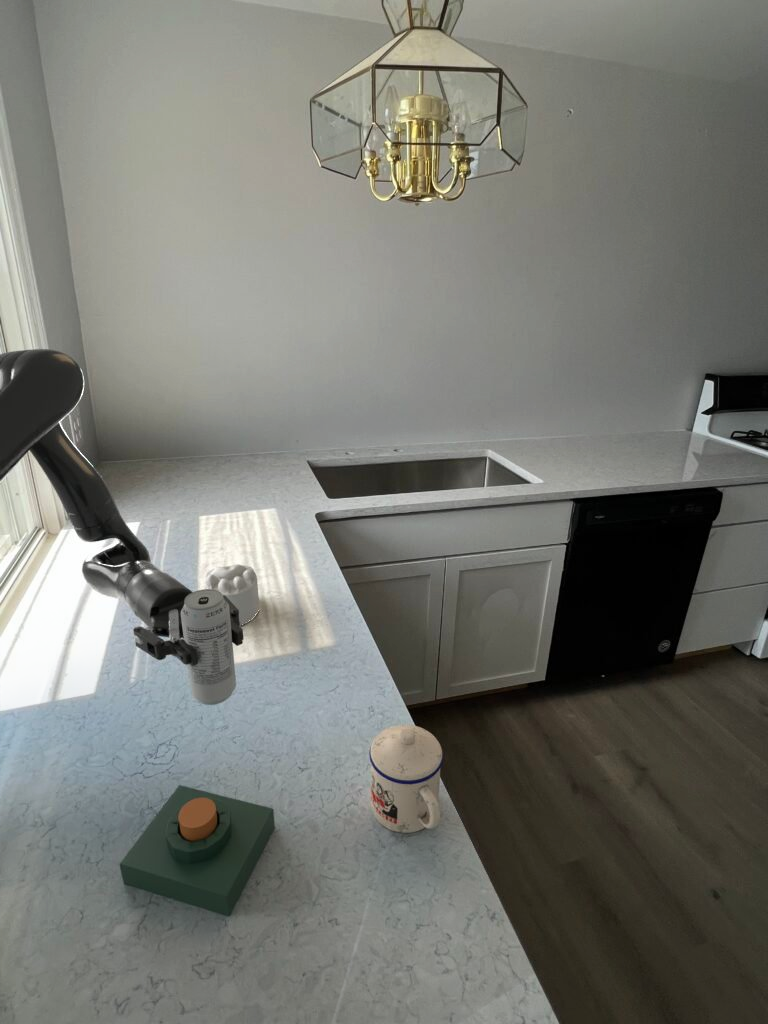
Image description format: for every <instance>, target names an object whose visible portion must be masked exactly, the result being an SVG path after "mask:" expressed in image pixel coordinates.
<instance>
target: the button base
mask: <svg viewBox="0 0 768 1024" xmlns="http://www.w3.org/2000/svg"><path fill="white" fill-rule="evenodd" d="M197 798H208V799H210V800H212V801H213V802H214V803H215V806H216V813H217V826H216V828H215V830H214V832H213V833H212V834H211V835H210V836H208V837H207V838H205V839H203V840H199V841H189V840H186V839H185V838H184V837H183V836H182V834H181V830H180V824H179V813H180V811H181V809H182V808H183V806H184V805H185V804H187V803H188V802H189V801H191V800H193V799H197ZM274 812H275V811H274V808H273V807H268V806H264V805H262V804H261V805H260V804H256V803H252V802H248V801H245V800H241V799H236V798H233V797H229V796H224V795H221V794H217V793H213V792H209V791H204V790H201V789H197V788H193V787H190V786H185V785H181V784H179V785H178V786H177V787H176V788H175V790H174V791H173V793H172V794H171V795H170V796H169V798H168V799H167V800H166V801H165V803H164V804H163V806H162V807H161V808H160V810H159V811H158V813H156V815H155V816H154V818H153V819H152V820H151V821H150V823H149V824H148V825H147V826H146V828H145V829H144V831H143V832H142V833H141V835H140V836H139V837H138V839H137V840H136V841H135V842H134V844H133V845H132V847H131V848H130V849H129V851H128V852H127V853H126V854H125V856H124V857H123V859H121V861H120V862H119V868H120V874H121V877H122V882H123V885H125V886H128V887H132V888H134V889H138V890H142V891H145V892H147V893H151V894H154V895H156V896H157V895H158V896H160V897H164V898H167V899H170V900H173V901H177V902H180V903H183V904H185V905H186V904H187V905H190V906H193V907H197V908H199V909H204V910H207V911H209V912H212V913H216V914H219V915H221V916H225V917H228V918H229V917H230V916H231V914H232V912H233V910H234V908H235V907H236V905H237V902H238V900H239V899H240V897H241V895H242V893H243V891H244V889H245V888H246V885H247V883H248V882H249V879H250V878H251V875H252V874H253V872H254V869H255V868H256V865H257V864H258V862H259V860H260V858H261V856H262V854H263V852H264V850H265V848H266V846H267V844H268V842H269V840H270V839H271V836H272V834H273V833H274V830H275V829H276V826H275V825H276V824H275V823H276V822H275V813H274Z"/></svg>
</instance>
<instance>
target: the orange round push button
mask: <svg viewBox="0 0 768 1024" xmlns="http://www.w3.org/2000/svg"><path fill="white" fill-rule="evenodd" d="M179 824H180V830H181V834H182V836H183V837H184V838H185V839H186V840H189V841H199V840H203V839H205V838H207V837H208V836H210V835H211V834H212V833H213V832H214V830H215V828H216V826H217V813H216V806H215V803H214V802H213V801H212V800H210V799H208V798H197V799H193V800H191V801H189V802H188V803H187V804H185V805H184V806H183V808H182V809H181V811H180V813H179Z"/></svg>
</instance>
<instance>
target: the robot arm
mask: <svg viewBox="0 0 768 1024" xmlns="http://www.w3.org/2000/svg"><path fill="white" fill-rule="evenodd" d="M84 388H85V379H84V373H83V371H82V368H81V366H80V365H79V363H78V362H77V361H76V360H75V359H74V358H73V357H72V356H70V355H68V354H67V353H65V352H62V351H60V350H55V349H49V348H33V349H23V350H13V351H7V352H3V353H0V484H1V483H2V482H3V481H4V480H5V479H6V478H7V477H8V476H9V474H10V473H11V472H12V471H13V470H14V469H15V467H16V466H17V465H18V464H19V463H20V461H21V460H22V459H23V458H24V457H25V456H26V455H27V453H28V452H30V453H31V455H32V457H33V459H34V460H36V462H37V464H38V465H39V467H40V469H41V470H42V471H43V473H44V474H45V476H46V478H47V479H48V481H49V483H50V484H51V486H52V487H53V489H54V491H55V493H56V495H57V497H58V499H59V501H60V502H61V505H62V507H63V509H64V511H65V512H66V515H67V517H68V519H69V521H70V523H71V526H72V528H73V529H74V532H75V533H76V535H77V537H78V538H79V539H80V540H81V541H83V542H84V543H85V542H86V543H97V542H102V541H106V540H111V539H116V542H114V543H112V544H110V545H107V546H106V547H103V548H101V549H100V550H97V551H96V552H93V553H91V554H90V555H88V556H87V557H86V558H85V559H84V561H83V562H82V566H81V573H82V577H83V579H84V581H85V582H86V584H87V585H88V586H89V587H90V588H91V589H93V591H95V592H97V593H99V594H101V595H103V596H106V597H110V598H113V599H117V600H120V601H123V602H124V603H125V604H126V605H127V606H128V607H129V608H130V610H131V611H132V613H133V614H134V615H135V616H136V617H137V618H138V619H139V620H141V621H142V622H143V624H144V625H146V626H147V627H146V628H145V627H143V626H136V627H134V628H133V630H132V631H133V636H134V643H135V646H136V647H137V648H138V649H140V650H142V651H143V652H144V653H146V654H148V655H149V656H151V658H153V659H155V660H157V661H162V660H165V659H166V658H167V656H172V657H174V658H175V657H176V658H177V660H179V661H180V662H181V663H183V665H186V666H187V665H188V664H190V665H191V666H192V667H193V666H195V665H197V664H198V659H197V653H196V650H195V649H194V648H193V647H191V646H190V645H188V644H187V643H186V642H185V640H184V635H183V627H182V620H181V610H182V608H183V606H184V604H185V603H184V600H185V598H186V597H187V596H188V595H189V594H191V593H193V592H194V591H193V590H191V589H190V588H189V587H187V586H185V584H183V583H181V582H180V581H179V580H177V579H176V578H175V577H173V576H172V575H170V574H169V573H167V572H164V571H162V570H161V569H160V568H159V567H157V566H156V565H155V564H154V563H152V555H151V553H150V551H149V549H148V548H147V547H146V545H145V544H144V543H143V542H142V541H141V540H140V539H139V538H138V537H137V536H136V535H135V533H134V532H133V531H132V530H131V528H130V527H129V526H128V524H127V523H126V521H125V520H124V518H123V516H122V514H121V513H120V510H119V508H118V506H117V503H116V502H115V499H114V497H113V495H112V493H111V490H110V488H109V486H108V483H106V481H105V479H104V478H103V477H102V475H101V474H100V472H99V471H98V470H97V469H96V468H95V467H94V466H93V464H92V463H91V462H90V461H89V460H88V459H87V458H86V457H85V456H84V455H83V454H82V453H81V451H80V450H79V449H78V448H77V446H76V445H74V443H73V442H72V440H71V439H70V438H69V436H68V435H67V432H66V431H65V430H64V428H63V426H62V425H61V421H63V420H64V419H65V418H66V417H67V416H68V415H69V414H70V413H72V412H73V410H74V409H75V408H76V407H77V405H78V404H79V403H80V401H81V398H82V396H83V393H84ZM223 598H224V599H225V601H226V602H227V603H228V605H229V611H230V622H231V633H232V644H234V645H235V646H236V647H239V646H241V645H242V644H243V643H244V641H243V640H244V630H243V628H242V626H240V622H239V610H238V609H237V608H236V607H235V605H234V604H233V603H232V602H231V601H230V600H229V599H228V598H227V597H226V596H225V595H223ZM239 626H240V627H239ZM163 638H169V639H168V640H164V639H163Z"/></svg>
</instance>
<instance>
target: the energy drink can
mask: <svg viewBox="0 0 768 1024" xmlns="http://www.w3.org/2000/svg"><path fill="white" fill-rule="evenodd" d="M192 592H193V593H191V594H189V595H188V596H187V597H186V598H185V600H184V603H185V604H184V606H183V608H182V610H181V620H182V627H183V635H184V639H183V640H185V642H186V643H187V644H188V645H190V646H191V647H193V648H194V649H195V650H196V653H197V659H198V664H197V665H195V666H193V667H192V666H191V665H190V664H188V665H186V666H187V673H188V680H189V681H188V683H189V689H190V694H191V696H192V697H193V698H194V699H195V700H196V701H197V702H198V703H200V704H202V705H206V706H213V705H218V704H221V703H225V701H227V700H228V699H229V698H230V697H232V694H233V692H234V691H235V690H236V687H237V678H236V677H237V675H236V667H235V655H234V645H233V644H234V643H233V642H232V633H231V622H230V611H229V605H228V603H227V602H226V601H225V599H224V598H223V594H222V593H221V592H220V591H218V590H214V589H205V588H203V589H199V590H195V591H192Z"/></svg>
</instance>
